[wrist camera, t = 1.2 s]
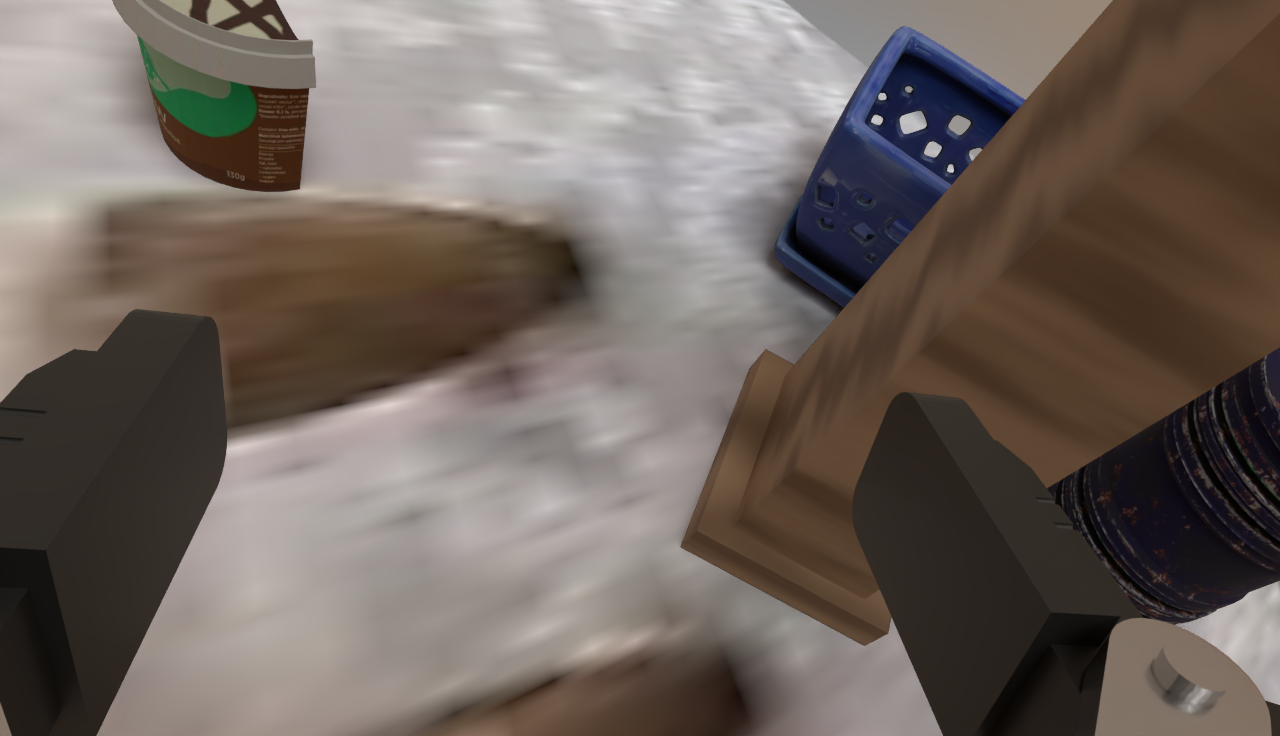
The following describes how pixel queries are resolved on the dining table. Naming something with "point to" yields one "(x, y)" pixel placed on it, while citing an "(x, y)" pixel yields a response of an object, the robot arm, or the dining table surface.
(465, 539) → the dining table surface
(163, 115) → the food container
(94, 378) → the robot arm
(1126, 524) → the storage jar
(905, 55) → the flower pot
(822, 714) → the dining table surface
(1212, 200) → the tall stand
